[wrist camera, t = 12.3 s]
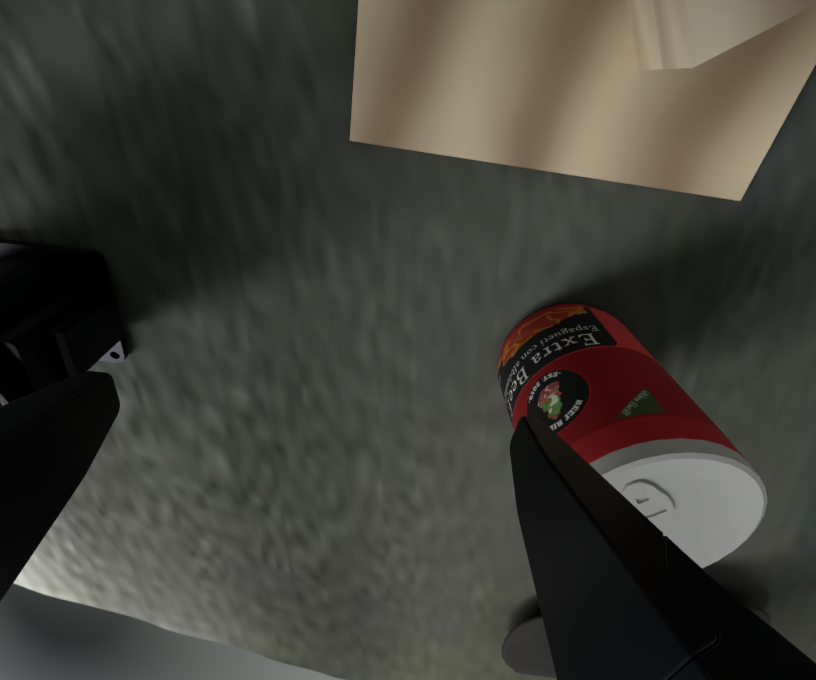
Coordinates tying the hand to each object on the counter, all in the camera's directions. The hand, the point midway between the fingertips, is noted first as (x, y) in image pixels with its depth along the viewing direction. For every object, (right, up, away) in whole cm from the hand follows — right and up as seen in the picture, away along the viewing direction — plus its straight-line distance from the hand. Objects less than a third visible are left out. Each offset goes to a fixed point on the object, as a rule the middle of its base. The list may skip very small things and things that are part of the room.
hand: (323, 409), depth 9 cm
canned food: (+11, +1, +15) cm, 19 cm away
